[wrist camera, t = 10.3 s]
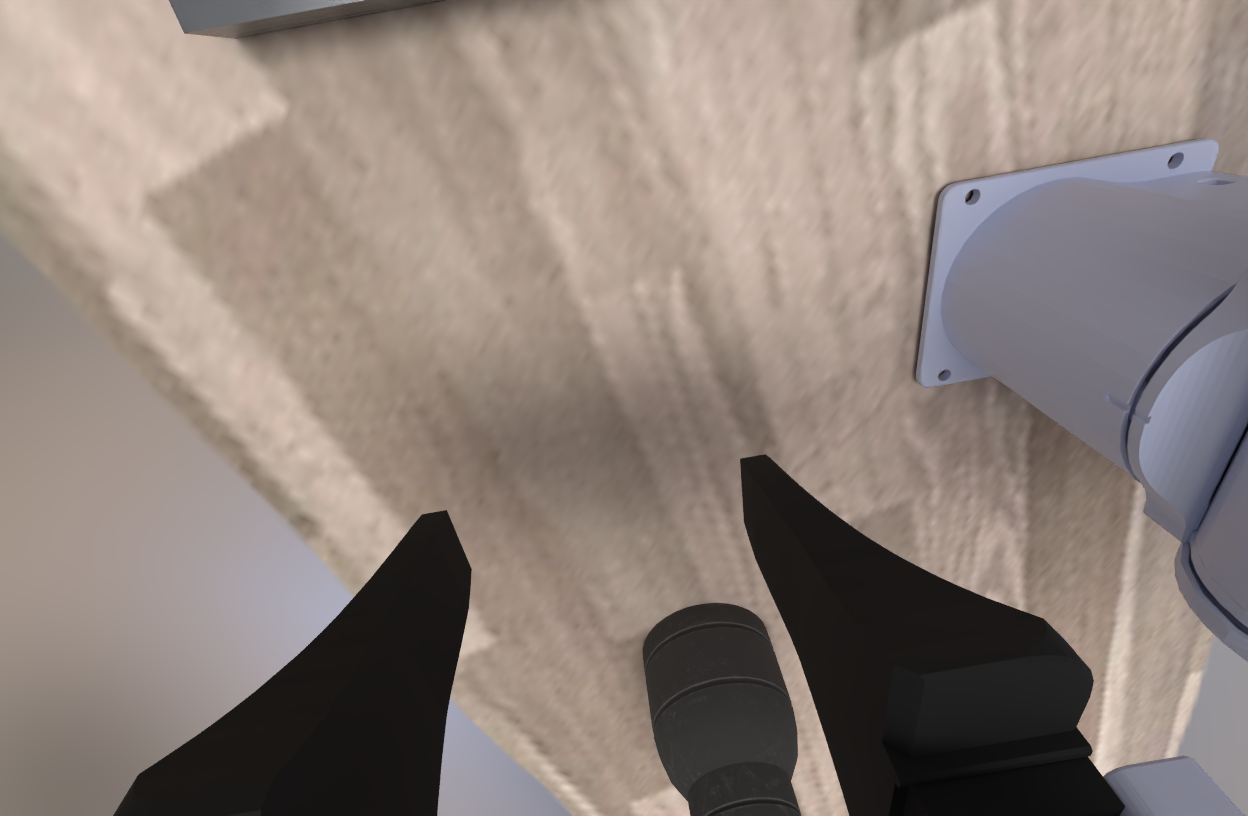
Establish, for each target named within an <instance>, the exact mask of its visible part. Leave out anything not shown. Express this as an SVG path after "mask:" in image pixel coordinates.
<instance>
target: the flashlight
mask: <svg viewBox="0 0 1248 816" xmlns="http://www.w3.org/2000/svg"><path fill="white" fill-rule="evenodd" d="M643 660H644V668H645V676H646V684H647V691H648V698H649V706H650V713H651V720H652V728H653V733H654V739H655V742H656V746H657V750H658V753H659V756H660V759H661V762H662V764H663V766H664V768H665V770H666V772H667V774H668V777H669V779H670V781H671V783H672V784H673V785H674V786H675V788H676V789H677V790H678V791H679V792H680V793H681V794H682V796H683V797H684V798H685V799H686V800H687V801H688V804H689V810H690V816H801V813H800V809H799V806H798V803H797V800H796V796H795V793H794V790H793V787H792V784H791V779H792V776H793V772H794V769H795V765H796V762H797V757H798V744H797V727H796V722H795V716H794V711H793V707H792V705H791V700H790V697H789V694H788V691H787V688H786V685H785V682H784V679H783V676H782V673H781V670H780V667H779V664H778V661H777V658H776V655H775V653H774V651H773V647H772V644H771V641H770V638H769V635H768V633H767V630H766V628H765V626H764V624H763V622H762V621H761V620H760V619H759V618H758V617H757V616H756V615H755V614H753V613H752V612H750V611H749V610H746V609H744V608H741V607H739V606H734V605H729V604H704V605H698V606H693V607H689V608H686V609H683V610H681V611H678V612H676V613H674V614H672V615H670V616H668V617H667V618H665V619H664V620H662V621H661V622H660V623H658V624H657V625H656V626H655V627H654V628H653V629H652V631H651V632H650V633H649V635H648V636H647V638H646V640H645V643H644V647H643Z"/></svg>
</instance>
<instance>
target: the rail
mask: <svg viewBox="0 0 1248 816" xmlns="http://www.w3.org/2000/svg"><path fill="white" fill-rule="evenodd" d="M437 1H443V0H169V2H170V4H171V6H172V8H173V10H174V12H175V14H176V17H177V19H178V21H179V23H180V25H181V27H182V29H183V31H184V33H185V34H195V35H205V36H215V37H225V38H235V39H236V38H242V37H247V36H253V35H258V34H264V33H269V32H274V31H280V30H285V29H291V28H296V27H301V26H307V25H312V24H318V23H323V22H329V21H334V20H339V19H345V18H350V17H356V16H361V15H367V14H372V13H377V12H383V11H388V10H394V9H399V8H405V7H410V6H415V5H421V4H426V3H432V2H437Z"/></svg>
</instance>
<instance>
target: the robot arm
mask: <svg viewBox="0 0 1248 816" xmlns="http://www.w3.org/2000/svg"><path fill="white" fill-rule="evenodd" d="M1218 151H1219V145H1218V142H1217V141H1215V140H1212V139H1196V140H1190V141H1185V142H1179V143H1173V144H1168V145H1162V146H1157V147H1151V148H1146V149H1140V150H1134V151H1129V152H1123V153H1118V154H1112V155H1107V156H1101V157H1095V158H1090V159H1084V160H1079V161H1073V162H1067V163H1062V164H1056V165H1051V166H1045V167H1040V168H1034V169H1028V170H1023V171H1017V172H1012V173H1006V174H1001V175H995V176H989V177H984V178H978V179H973V180H967V181H962V182H956V183H953V184H950V185H948V186H947V187H946V188H944V189H943V191H942V192H941V194H940V196H939V199H938V206H937V214H936V222H935V229H934V237H933V245H932V253H931V261H930V269H929V276H928V284H927V292H926V300H925V308H924V315H923V323H922V331H921V339H920V347H919V355H918V362H917V370H916V380H917V381H918V383H920V384H921V385H922V386H924V387H936V386H941V385H947V384H953V383H958V382H964V381H970V380H976V379H981V378H987V377H994V378H996V379H997V380H998V381H1000V382H1001V383H1002V384H1004V385H1005V386H1007V387H1008V388H1009V389H1011V390H1012V391H1014V392H1015V393H1016V394H1018V395H1019V396H1021V397H1022V398H1023V399H1025V400H1026V401H1027V402H1029V403H1030V404H1032V405H1033V406H1034V407H1036V408H1037V409H1039V410H1040V411H1041V412H1043V413H1044V414H1045V415H1047V416H1048V417H1050V418H1051V419H1052V420H1054V421H1055V422H1057V423H1058V424H1059V425H1061V426H1062V427H1063V428H1065V429H1066V430H1068V431H1069V432H1070V433H1072V434H1073V435H1075V436H1076V437H1077V438H1079V439H1080V440H1081V441H1083V442H1084V443H1086V444H1087V445H1088V446H1090V447H1091V448H1093V449H1094V450H1095V451H1097V452H1098V453H1099V454H1101V455H1102V456H1104V457H1105V458H1106V459H1108V460H1109V461H1111V462H1112V463H1113V464H1115V465H1116V466H1117V467H1119V468H1120V469H1122V470H1123V471H1124V472H1126V473H1127V474H1129V475H1130V476H1131V477H1133V478H1134V479H1136V480H1137V481H1139V482H1140V483H1141V484H1142V485H1143V487H1144V488H1145V491H1146V504H1145V507H1144V514H1146V515H1147V516H1148V517H1150V518H1151V519H1152V520H1154V521H1155V522H1156V523H1157V524H1159V525H1160V526H1161V527H1163V528H1164V529H1165V530H1167V531H1168V532H1169V533H1170V534H1172V535H1173V536H1174V537H1176V538H1177V539H1178V540H1180V541H1181V544H1180V546H1179V548H1178V551H1177V554H1176V557H1175V577H1176V580H1177V583H1178V587H1179V590H1180V592H1181V593H1182V595H1183V597H1184V599H1185V600H1186V602H1187V604H1188V605H1189V607H1190V608H1191V609H1192V611H1193V612H1194V613H1195V614H1196V615H1197V617H1198V618H1199V619H1200V620H1201V622H1202V623H1203V624H1204V625H1205V626H1206V627H1207V628H1208V629H1209V630H1210V631H1211V632H1212V633H1213V634H1214V635H1215V636H1216V637H1218V638H1219V639H1220V640H1221V641H1222V642H1223V643H1224V644H1225V645H1226V646H1228V647H1229V648H1230V649H1232V650H1233V651H1234V652H1235V653H1237V654H1238V655H1239V656H1241V657H1242V658H1243V659H1245V660H1246V661H1247V662H1248V177H1245V176H1238V175H1232V174H1225V173H1219V172H1212V169H1213V166H1214V163H1215V160H1216V157H1217V155H1218ZM1172 156H1173V159H1172V161H1171V162H1170V163H1169V164H1168V161H1169V159H1170V158H1171V157H1172ZM971 190H973V196H972V198H971V199H970V200H969V201H968V202H966V203H965V197H966V195H967V193H968V192H969V191H971ZM943 370H945V372H944V373H943V374H942V375H941V376H938V375H939V373H940V372H941V371H943ZM740 463H741V479H742V496H743V513H744V523H745V527H746V530H747V533H748V536H749V540H750V543H751V546H752V549H753V552H754V555H755V559H756V561H757V563H758V566H759V568H760V570H761V572H762V575H763V577H764V579H765V581H766V583H767V586H768V588H769V590H770V592H771V595H772V597H773V599H774V601H775V603H776V606H777V608H778V610H779V612H780V614H781V617H782V619H783V621H784V623H785V626H786V628H787V630H788V632H789V634H790V637H791V639H792V641H793V644H794V646H795V649H796V651H797V654H798V656H799V659H800V662H801V665H802V668H803V671H804V674H805V677H806V680H807V683H808V686H809V689H810V691H811V694H812V697H813V700H814V704H815V707H816V710H817V713H818V716H819V719H820V722H821V725H822V728H823V731H824V734H825V737H826V741H827V744H828V747H829V750H830V753H831V757H832V760H833V763H834V766H835V769H836V773H837V776H838V779H839V782H840V786H841V789H842V792H843V795H844V799H845V802H846V806H847V809H848V812H849V816H1245V815H1244V814H1243V813H1242V812H1241V810H1240V809H1239V808H1238V807H1237V806H1236V805H1235V804H1234V803H1233V802H1232V801H1231V799H1230V798H1229V797H1228V796H1227V795H1226V794H1225V793H1224V792H1223V791H1222V789H1221V788H1220V787H1219V786H1218V785H1217V784H1216V783H1215V782H1214V781H1213V780H1212V778H1211V777H1209V775H1208V774H1207V773H1206V772H1205V771H1204V770H1203V769H1202V768H1201V766H1200V765H1199V764H1198V763H1197V762H1196V761H1195V760H1194V759H1193V758H1191V757H1187V756H1179V757H1173V758H1167V759H1161V760H1155V761H1150V762H1144V763H1138V764H1132V765H1126V766H1123V767H1119V768H1116V769H1114V770H1112V771H1110V772H1108V773H1106V774H1105V775H1104V776H1102V775H1101V774H1100V772H1099V771H1098V770H1097V768H1096V767H1095V766H1094V764H1093V763H1092V762H1091V760H1090V759H1089V758H1088V756H1091V754H1092V752H1093V751H1092V748H1091V745H1090V744H1089V743H1088V742H1087V740H1086V739H1085V738H1084V736H1083V735H1082V734H1081V732H1080V731H1079V730H1078V729H1077V727H1076V726H1077V724H1078V722H1079V720H1080V718H1081V715H1082V713H1083V711H1084V709H1085V707H1086V705H1087V703H1088V700H1089V698H1090V695H1091V691H1092V687H1093V682H1094V680H1093V676H1092V672H1091V670H1090V669H1089V667H1088V666H1087V665H1086V664H1085V663H1084V662H1083V661H1082V659H1081V658H1080V657H1079V656H1078V655H1077V654H1076V652H1075V651H1074V650H1073V649H1072V648H1071V646H1070V645H1069V644H1068V643H1067V642H1066V641H1065V640H1064V639H1063V638H1062V637H1061V636H1060V635H1059V634H1058V633H1057V632H1056V631H1055V630H1054V629H1053V628H1052V627H1051V626H1050V625H1049V624H1048V623H1047V622H1046V621H1045V620H1044V619H1043V618H1040V617H1037V616H1035V615H1032V614H1029V613H1026V612H1024V611H1021V610H1018V609H1015V608H1013V607H1010V606H1007V605H1004V604H1002V603H999V602H996V601H993V600H991V599H988V598H986V597H983V596H981V595H978V594H976V593H974V592H971V591H969V590H967V589H964V588H962V587H960V586H957V585H955V584H953V583H951V582H948V581H946V580H944V579H942V578H940V577H938V576H936V575H934V574H932V573H930V572H928V571H926V570H924V569H922V568H920V567H918V566H916V565H914V564H912V563H910V562H908V561H906V560H905V559H903V558H901V557H899V556H897V555H896V554H894V553H892V552H890V551H889V550H887V549H885V548H884V547H882V546H881V545H879V544H877V543H876V542H874V541H872V540H871V539H869V538H868V537H866V536H865V535H863V534H862V533H860V532H859V531H857V530H856V529H854V528H853V527H852V526H850V525H849V524H848V523H846V522H845V521H843V520H842V519H841V518H839V517H838V516H837V515H835V514H834V513H833V512H831V511H830V510H829V509H828V508H826V507H825V506H824V505H823V504H821V503H820V502H819V501H818V500H817V499H815V498H814V497H813V496H812V495H810V494H809V493H808V492H807V491H806V490H805V489H803V488H802V487H801V486H800V485H799V484H798V483H797V482H795V481H794V480H793V479H792V478H791V477H790V476H789V475H788V474H787V473H786V472H784V471H783V470H782V469H781V468H780V467H779V466H778V465H777V464H776V463H775V462H774V461H773V460H772V459H771V458H770V457H768V456H767V455H759V456H753V457H747V458H742V459H740ZM471 570H472V569H471V567H470V564H469V562H468V560H467V557H466V555H465V553H464V550H463V548H462V545H461V543H460V541H459V538H458V536H457V534H456V531H455V529H454V526H453V524H452V522H451V519H450V517H449V515H448V512H447V510H445V511H439V512H433V513H428V514H422V515H421V516H420V518H419V519H418V520H417V521H416V522H415V524H414V525H413V526H412V527H411V529H410V530H409V531H408V532H407V534H406V535H405V536H404V537H403V539H402V540H401V541H400V543H399V544H398V545H397V546H396V548H395V549H394V550H393V551H392V553H391V554H390V555H389V556H388V558H387V559H386V560H385V561H384V563H383V564H382V565H381V566H380V568H379V569H378V570H377V571H376V572H375V574H374V575H373V576H372V577H371V579H370V580H369V581H368V582H367V583H366V584H365V585H364V587H363V588H362V589H361V590H360V591H359V592H358V593H357V595H356V596H355V597H354V598H353V599H352V600H351V601H350V602H349V604H348V605H347V606H346V607H345V608H344V609H343V610H342V612H341V613H340V614H339V615H338V616H337V617H336V618H335V619H334V620H333V621H332V622H331V623H330V624H329V625H328V626H327V627H326V628H325V629H324V630H323V631H322V633H320V634H319V635H318V636H317V637H316V638H315V639H314V640H313V641H312V642H311V643H310V644H309V645H308V646H307V647H306V648H305V649H304V650H303V651H301V652H300V654H298V655H297V656H296V657H295V658H294V659H293V660H291V661H290V662H289V663H288V664H287V665H286V666H284V667H283V668H282V669H281V670H280V671H279V672H278V673H276V675H274V676H273V677H272V678H271V679H269V680H268V681H267V682H266V683H265V684H264V685H262V686H261V687H260V688H259V689H258V690H256V692H254V693H253V694H251V696H249V697H248V698H246V699H245V700H244V701H243V702H241V703H240V704H239V705H237V706H236V707H235V708H234V709H232V710H231V711H230V712H228V713H227V714H226V715H224V716H223V717H222V718H220V719H219V720H218V721H216V722H215V723H214V724H212V725H211V726H209V727H208V728H207V729H205V730H204V731H202V732H201V733H200V734H198V735H197V736H196V737H194V738H192V739H191V740H189V741H188V742H187V743H185V744H184V745H182V746H181V747H179V748H178V749H176V750H175V751H173V752H172V753H170V754H169V755H167V756H166V757H164V758H163V759H161V760H160V761H158V762H157V763H155V764H154V765H153V766H151V767H149V768H148V769H146V770H145V771H143V772H142V773H140V774H139V775H138V776H137V778H136V780H135V781H134V783H133V784H132V786H131V788H130V789H129V791H128V792H127V794H126V796H125V797H124V799H123V801H122V802H121V804H120V805H119V807H118V809H117V811H116V812H115V814H114V815H113V816H437V810H438V797H439V785H440V774H441V763H442V753H443V743H444V734H445V725H446V717H447V711H448V705H449V700H450V694H451V690H452V685H453V681H454V676H455V671H456V667H457V662H458V657H459V653H460V648H461V643H462V639H463V634H464V629H465V624H466V619H467V614H468V609H469V599H470V586H471Z"/></svg>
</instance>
